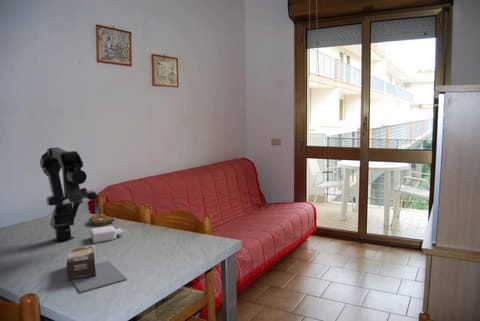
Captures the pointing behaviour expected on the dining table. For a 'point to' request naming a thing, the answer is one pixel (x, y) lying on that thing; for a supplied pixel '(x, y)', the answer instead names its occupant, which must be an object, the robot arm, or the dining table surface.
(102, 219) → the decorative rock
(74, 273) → the coffee box
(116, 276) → the mat
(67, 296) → the dining table surface
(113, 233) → the charger
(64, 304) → the dining table surface
